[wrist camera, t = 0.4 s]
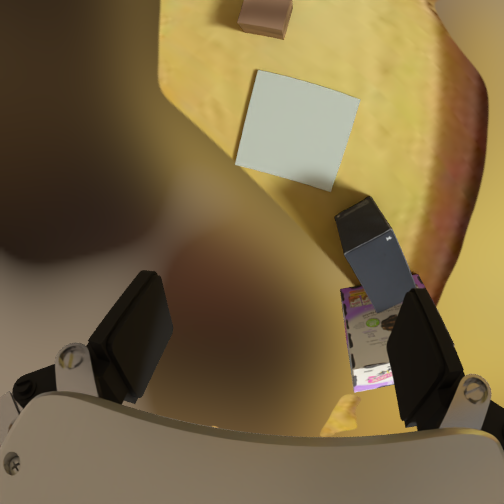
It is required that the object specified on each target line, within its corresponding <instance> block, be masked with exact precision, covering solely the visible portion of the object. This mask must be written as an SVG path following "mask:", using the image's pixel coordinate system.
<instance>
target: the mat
mask: <svg viewBox="0 0 504 504" xmlns="http://www.w3.org/2000/svg"><path fill="white" fill-rule="evenodd" d="M359 103H360V99H357V98H354V97H352V96H349V95H346V94H343V93H340V92H338V91H335V90H332V89H329V88H325V87H322V86H319V85H316V84H312V83H309V82H306V81H302V80H298V79H295V78H291V77H287V76H283V75H279V74H275V73H270V72H266V71H261V70H258V72H257V76H256V80H255V84H254V88H253V92H252V96H251V100H250V103H249V108H248V112H247V116H246V120H245V124H244V128H243V132H242V136H241V141H240V145H239V149H238V153H237V158H236V162H235V165H238V166H242V167H246V168H250V169H254V170H258V171H261V172H265V173H269V174H272V175H276V176H280V177H283V178H287V179H290V180H293V181H297V182H300V183H303V184H307V185H310V186H313V187H316V188H320V189H323V190H326V191H329V192H331V189H332V186H333V184H334V181H335V178H336V175H337V172H338V169H339V166H340V163H341V160H342V157H343V154H344V151H345V148H346V145H347V142H348V138H349V135H350V132H351V129H352V126H353V123H354V119H355V116H356V113H357V109H358V106H359Z"/></svg>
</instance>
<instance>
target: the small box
mask: <svg viewBox="0 0 504 504" xmlns="http://www.w3.org/2000/svg"><path fill="white" fill-rule="evenodd" d="M335 221H336V224H337V228H338V232H339V236H340V240H341V244H342V248H343V252H344V256H345V258H346V259H347V261H348V263H349V264H350V266H351V268H352V269H353V271H354V273H355V274H356V276H357V278H358V280H359V281H360V283H361V285H362V287H363V288H364V290H365V292H366V294H367V296H368V298H369V299H370V301H371V303H372V305H373V307H374V309H375V311H376V312H377V313H380V312H383V311H385V310H387V309H389V308H391V307H393V306H395V305H397V304H399V303H401V302H403V300H404V297H405V294H406V293H407V292H409V291H410V290H411V289H412V288H417V287H416V285H415V282H414V279H413V277H412V274H411V271H410V269H409V266H408V264H407V261H406V259H405V257H404V255H403V252H402V250H401V247H400V245H399V243H398V241H397V238H396V236H395V234H394V232H393V230H392V228H391V226H390V225H389V223H388V222H387V220H386V219H385V217H384V215H383V214H382V213H381V211H380V210H379V208H378V206H377V205H376V203H375V201H374V200H373V198H372V197H370V196H369V197H367V198H366V199H364V200H363V201H361V202H359V203H357V204H355V205H354V206H352V207H350V208H349V209H347V210H344V211H342V212H341V213H339V214H338V215H336V216H335Z"/></svg>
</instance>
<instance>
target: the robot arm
mask: <svg viewBox="0 0 504 504" xmlns="http://www.w3.org/2000/svg"><path fill="white" fill-rule="evenodd" d="M172 332H173V324H172V321H171V317H170V313H169V309H168V305H167V300H166V296H165V292H164V288H163V283H162V279H161V277H160V276H158V275H157V273H156V272H155V271H146V270H143V271H141V272H140V273H139V274H138V275H137V276H136V278H135V279H134V280H133V281H132V283H131V284H130V285H129V286H128V288H127V289H126V290H125V291H124V293H123V294H122V296H121V297H120V298H119V299H118V300H117V302H116V303H115V304H114V306H113V307H112V308H111V310H110V311H109V312H108V314H107V315H106V316H105V318H104V319H103V320H102V322H101V323H100V324H99V326H98V327H97V328H96V330H95V331H94V333H93V334H92V335H91V337H90V338H89V340H88V341H89V343H88V345H87V346H85V345H84V344H82V343H71V344H68V345H66V346H64V347H63V348H62V349H61V350H60V351H59V352H58V354H57V355H56V358H55V364H54V365H51V366H48V367H45V368H42V369H40V370H37V371H34V372H32V373H29V374H26V375H23V376H22V377H20V378H19V379H18V380H17V381H16V383H15V384H14V387H13V392H12V393H11V392H10V391H9V392H7V393H6V394H4V395H3V396H2V397H0V504H504V408H502V407H501V406H499V405H498V404H496V403H494V402H493V401H492V400H491V388H490V386H489V384H488V382H486V380H485V379H484V378H482V377H481V376H479V375H476V374H469V375H466V376H465V375H464V372H463V367H462V364H461V362H460V359H459V357H458V355H457V352H456V350H455V348H454V345H453V343H452V341H451V338H450V336H449V334H448V332H447V329H446V327H445V325H444V323H443V321H442V319H441V317H440V315H439V313H438V311H437V309H436V307H435V305H434V303H433V301H432V299H431V297H430V295H429V293H428V291H427V290H426V289H425V288H412V289H411V290H410V291H409V292H407V293H406V294H405V297H404V300H403V302H402V305H401V308H400V311H399V313H398V316H397V319H396V321H395V324H394V326H393V329H392V331H391V334H390V336H389V338H388V341H387V346H386V349H387V354H388V358H389V362H390V367H391V371H392V376H393V381H394V385H395V390H396V396H397V401H398V406H399V412H400V417H401V420H402V421H405V427H406V428H407V427H414V426H417V429H418V431H415V432H408V433H399V434H390V435H389V434H388V435H377V436H362V437H293V436H277V435H265V434H256V433H248V432H240V431H233V430H226V429H220V428H214V427H209V426H203V425H198V424H193V423H188V422H183V421H179V420H175V419H171V418H167V417H163V416H159V415H155V414H152V413H148V412H145V411H141V410H137V409H134V408H131V407H127V406H124V405H122V403H123V401H127V402H131V403H134V404H135V403H136V401H137V399H138V398H141V397H142V396H143V394H144V392H145V389H146V387H147V385H148V383H149V381H150V379H151V377H152V375H153V372H154V370H155V368H156V366H157V364H158V362H159V360H160V358H161V356H162V354H163V352H164V349H165V347H166V345H167V343H168V341H169V339H170V337H171V335H172Z"/></svg>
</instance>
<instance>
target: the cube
mask: <svg viewBox="0 0 504 504" xmlns="http://www.w3.org/2000/svg"><path fill="white" fill-rule="evenodd" d="M292 9H293V5H292V0H244V2H243V5H242V8H241V11H240V15H239V18H238V21H237V23H238V24H239V26H240V27H241V28H242V30H243V31H244V32H245V33H251V34H257V35H263V36H268V37H273V38H278V39H282V40H284V37H285V34H286V30H287V27H288V23H289V20H290V16H291V13H292Z"/></svg>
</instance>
